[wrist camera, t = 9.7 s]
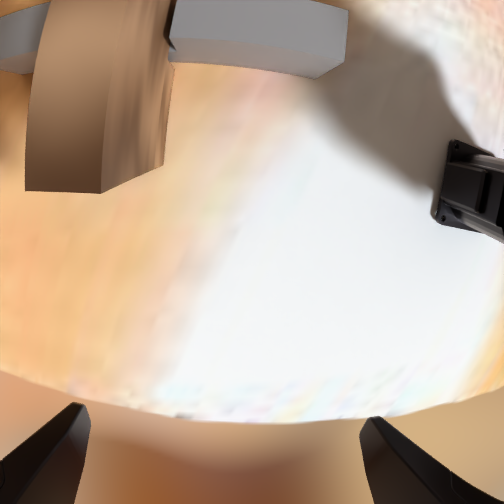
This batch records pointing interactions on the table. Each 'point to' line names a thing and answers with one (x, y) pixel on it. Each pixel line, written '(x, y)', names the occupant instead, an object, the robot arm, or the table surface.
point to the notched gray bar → (217, 35)
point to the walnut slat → (99, 95)
